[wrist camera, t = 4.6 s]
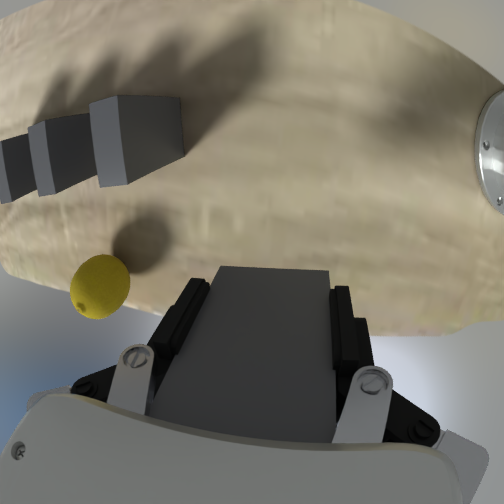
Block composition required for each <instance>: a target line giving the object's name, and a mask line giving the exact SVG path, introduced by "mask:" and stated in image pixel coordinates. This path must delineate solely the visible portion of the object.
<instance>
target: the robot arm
mask: <svg viewBox="0 0 504 504" xmlns="http://www.w3.org/2000/svg"><path fill="white" fill-rule="evenodd" d="M475 163H476V171H477V175H478V179H479V183H480V185H481V188H482V190H483V193H484V195H485V196H486V198H487V200H488V201H489V203H490V204H491V205H492V206H493V207H494V208H495V209H496V210H497V211H499V212H500V213H501V214H503V215H504V90H501V91H499V92H497V93H496V94H494V95H493V96H492V97H491V98H490V99H489V100H488V101H487V103H486V104H485V106H484V108H483V109H482V112H481V115H480V117H479V120H478V124H477V129H476V135H475ZM209 291H210V284H209V283H208V282H206V281H205V279H201V278H191V279H190V280H189V282H188V284H187V285H186V287H185V288H184V290H183V292H182V293H181V295H180V296H179V298H178V300H177V301H176V303H175V305H172V306H171V307H170V308H169V309H168V311H167V312H166V314H165V316H164V317H163V319H162V321H161V322H160V324H159V326H158V327H157V329H156V331H155V332H154V334H153V335H152V337H151V339H150V340H149V342H148V344H147V345H144V344H136V345H132V346H130V347H128V348H126V349H125V350H124V351H123V352H122V353H121V355H120V357H119V360H118V363H117V365H114V366H111V367H109V368H106V369H104V370H101V371H98V372H96V373H93V374H90V375H88V376H85V377H82V378H80V379H78V380H77V381H76V382H75V383H74V385H73V386H72V387H70V386H69V385H68V386H64V387H59V388H55V389H51V390H46V391H42V392H38V393H35V394H33V395H32V396H31V397H30V398H29V400H28V402H27V413H26V414H25V416H24V417H23V418H22V420H21V421H20V423H19V424H18V426H17V427H16V429H15V430H14V432H13V434H12V435H11V437H10V439H9V440H8V442H7V444H6V446H5V448H4V450H3V452H2V453H1V455H0V504H470V502H471V500H472V498H473V496H474V494H475V493H476V490H477V488H478V486H479V484H480V482H481V480H482V478H483V475H484V473H485V471H486V468H487V466H488V462H489V455H488V452H487V451H486V449H485V448H483V447H482V446H480V445H477V444H476V443H474V442H472V441H469V440H467V439H465V438H463V437H461V436H459V435H457V434H455V433H453V432H451V431H449V430H446V431H443V430H441V429H440V425H439V424H438V422H437V420H436V419H434V418H433V417H432V416H431V415H429V414H427V413H426V412H425V411H423V410H422V409H420V408H419V407H417V406H416V405H414V404H413V403H411V402H410V401H409V400H407V399H405V398H404V397H403V396H401V395H400V394H398V393H397V392H395V391H394V390H393V389H392V388H393V380H392V377H391V375H390V374H389V373H388V372H387V371H386V370H384V369H383V368H381V367H377V366H374V360H373V355H372V348H371V343H370V337H369V332H368V326H367V321H366V319H365V318H354V315H353V309H352V303H351V297H350V291H349V286H335V289H330V291H329V304H330V320H331V340H332V370H335V375H336V431H335V434H334V437H333V439H332V442H331V443H303V442H287V441H275V440H265V439H256V438H248V437H241V436H234V435H228V434H222V433H216V432H211V431H206V430H201V429H196V428H192V427H187V426H183V425H179V424H174V423H170V422H167V421H163V420H159V419H155V418H152V417H149V414H150V407H151V404H152V402H153V400H154V398H155V396H156V394H157V391H158V389H159V387H160V385H161V383H162V381H163V379H164V377H165V375H166V373H167V371H168V369H169V367H170V365H171V363H172V361H173V359H174V357H175V355H178V354H179V352H180V349H181V347H182V345H183V343H184V341H185V339H186V337H187V335H188V333H189V331H190V329H191V327H192V325H193V323H194V321H195V319H196V317H197V315H198V313H199V311H200V309H201V307H202V305H203V303H204V301H205V299H206V297H207V295H208V293H209Z"/></svg>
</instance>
